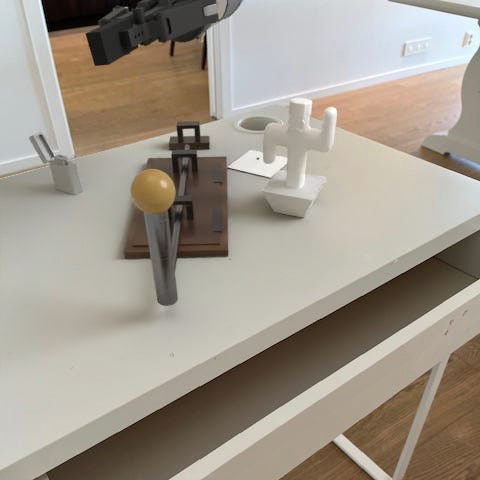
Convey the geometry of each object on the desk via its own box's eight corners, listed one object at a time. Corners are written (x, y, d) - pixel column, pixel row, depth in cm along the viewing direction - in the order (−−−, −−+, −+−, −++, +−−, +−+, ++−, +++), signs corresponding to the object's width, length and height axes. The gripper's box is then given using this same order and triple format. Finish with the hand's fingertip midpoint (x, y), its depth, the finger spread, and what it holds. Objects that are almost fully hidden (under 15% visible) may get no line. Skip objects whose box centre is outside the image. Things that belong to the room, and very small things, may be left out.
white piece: (270, 177, 80) (270, 173, 80) (226, 167, 83) (226, 162, 83) (292, 158, 86) (292, 154, 85) (250, 149, 89) (250, 145, 88)
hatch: (148, 163, 85) (145, 140, 82) (226, 162, 85) (226, 138, 83) (124, 258, 64) (119, 231, 61) (228, 256, 64) (227, 228, 62)
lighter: (82, 190, 78) (71, 139, 73) (74, 195, 77) (61, 143, 72) (50, 180, 81) (36, 129, 76) (41, 184, 80) (27, 133, 75)
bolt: (175, 149, 85) (166, 51, 75) (199, 149, 85) (193, 50, 75) (147, 315, 53) (124, 181, 43) (185, 314, 53) (171, 180, 43)
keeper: (170, 142, 92) (168, 120, 89) (209, 142, 92) (208, 119, 89) (169, 150, 89) (167, 127, 87) (209, 149, 89) (208, 126, 87)
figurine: (271, 191, 77) (274, 86, 67) (332, 202, 74) (345, 94, 65) (253, 213, 72) (254, 104, 62) (318, 226, 69) (329, 113, 60)
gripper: (242, 31, 64) (171, 88, 47) (148, 41, 68) (51, 97, 51) (233, -42, 59) (151, -8, 42) (133, -27, 63) (21, 9, 46)
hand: (97, 49), depth 46 cm, fingers closed
